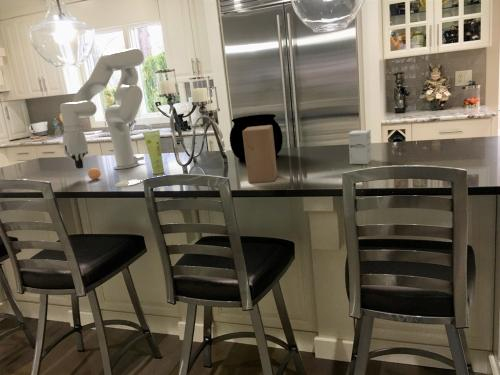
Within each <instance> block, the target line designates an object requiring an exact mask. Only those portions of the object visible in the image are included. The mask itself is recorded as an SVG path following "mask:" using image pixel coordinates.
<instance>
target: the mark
mask: <svg viewBox="0 0 500 375" xmlns="http://www.w3.org/2000/svg"><path fill="white" fill-rule="evenodd" d="M139 179H140V183H139V184H142V183H141V180H143V179H142V178H139ZM127 180H128V179H126V180H122V181H119V182H116V183H115V184H114V186H115V187H116V188H124V187H123V186H127V187H129V186H128V184H129V182H128V181H127Z"/></svg>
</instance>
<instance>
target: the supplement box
mask: <svg viewBox="0 0 500 375" xmlns="http://www.w3.org/2000/svg"><path fill="white" fill-rule="evenodd" d="M371 140H372V139H371V130H370V129H369V130H368V129H363V130H362V129H361V130H357V129H356V130H352V131H350V132H348V151H349V152H348V153H349V154H348V155H349V164H350V165H368V164H369V163H370V162H371V161H372V142H371Z"/></svg>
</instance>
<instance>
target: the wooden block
mask: <svg viewBox="0 0 500 375" xmlns="http://www.w3.org/2000/svg"><path fill="white" fill-rule="evenodd" d="M242 133H243V141H244V150H245V158H246V163H245V165H246V175H247V181H248V184H258V183H259V184H260V183H273V182H275V181H276V178H277V176H278V171H277V170H278V168H277V158H276V156H275V146H274V136H273V126H272V125H265V126H254V127H247V128H246V129H245V130H244V131H243V132H242Z"/></svg>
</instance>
